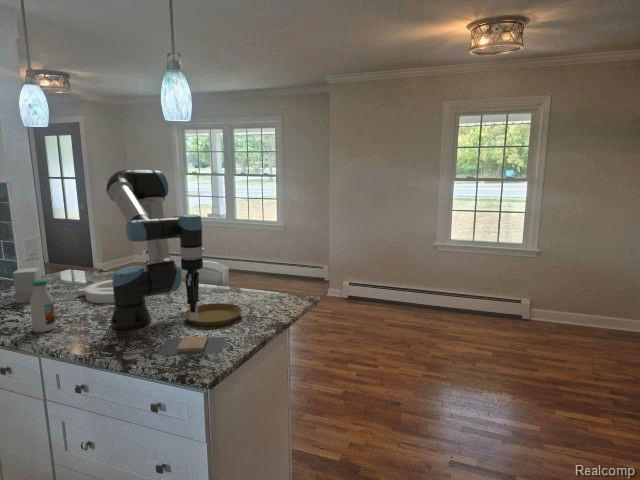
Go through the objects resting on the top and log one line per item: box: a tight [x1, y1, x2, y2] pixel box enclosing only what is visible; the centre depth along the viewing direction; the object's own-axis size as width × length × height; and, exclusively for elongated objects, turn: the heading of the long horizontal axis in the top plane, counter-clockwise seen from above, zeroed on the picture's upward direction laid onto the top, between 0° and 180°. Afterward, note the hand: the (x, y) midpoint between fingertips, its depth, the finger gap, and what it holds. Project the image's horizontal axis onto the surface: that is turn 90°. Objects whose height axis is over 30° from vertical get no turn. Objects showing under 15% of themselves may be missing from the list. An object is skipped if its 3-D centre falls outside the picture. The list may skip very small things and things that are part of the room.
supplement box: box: [12, 267, 42, 304], centre depth 199 cm, size 9×9×15 cm
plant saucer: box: [184, 302, 243, 327], centre depth 179 cm, size 24×24×3 cm
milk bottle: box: [29, 278, 57, 333], centre depth 163 cm, size 8×8×20 cm
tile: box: [177, 335, 209, 352], centre depth 150 cm, size 9×1×10 cm
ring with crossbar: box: [76, 279, 114, 304], centre depth 211 cm, size 28×28×5 cm
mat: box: [156, 336, 227, 356], centre depth 150 cm, size 22×14×1 cm, turn 96°
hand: (193, 319), depth 153 cm, fingers closed
